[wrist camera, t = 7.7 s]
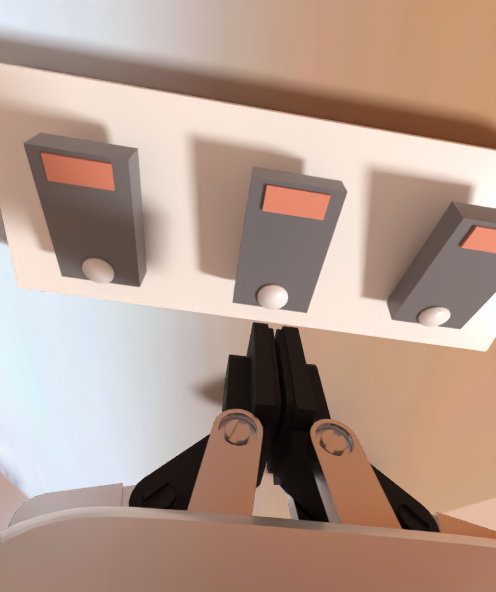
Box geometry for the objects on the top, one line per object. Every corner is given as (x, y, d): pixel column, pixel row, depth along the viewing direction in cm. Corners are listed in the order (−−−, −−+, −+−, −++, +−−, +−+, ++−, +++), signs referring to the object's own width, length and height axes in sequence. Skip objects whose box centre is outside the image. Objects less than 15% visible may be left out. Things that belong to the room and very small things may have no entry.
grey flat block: (451, 311, 18) (461, 331, 17) (386, 302, 18) (392, 321, 17) (537, 215, 14) (555, 234, 13) (451, 201, 13) (464, 219, 13)
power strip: (525, 327, 23) (567, 362, 20) (52, 260, 21) (17, 287, 18) (632, 173, 18) (711, 188, 15) (22, 66, 16) (-33, 58, 13)
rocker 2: (304, 297, 17) (306, 314, 16) (234, 288, 17) (232, 304, 16) (341, 180, 14) (348, 193, 12) (252, 166, 13) (251, 177, 12)
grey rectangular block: (147, 271, 17) (139, 288, 16) (72, 260, 17) (60, 278, 16) (138, 148, 13) (127, 161, 12) (40, 132, 13) (21, 144, 12)
